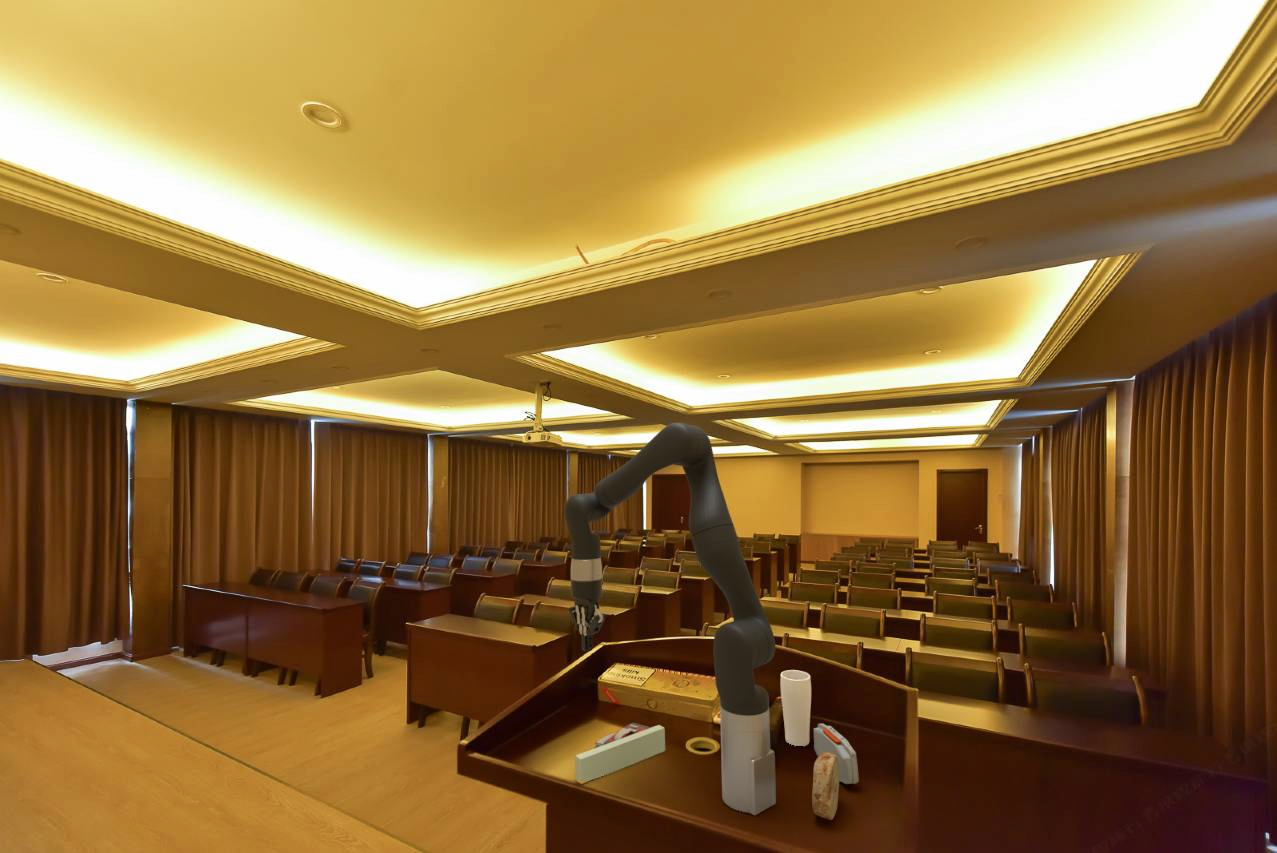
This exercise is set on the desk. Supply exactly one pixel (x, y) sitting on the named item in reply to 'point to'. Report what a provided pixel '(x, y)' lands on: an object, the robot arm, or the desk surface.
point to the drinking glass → (796, 706)
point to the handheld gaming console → (837, 752)
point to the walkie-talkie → (621, 734)
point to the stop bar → (619, 753)
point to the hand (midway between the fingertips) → (587, 650)
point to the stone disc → (825, 786)
